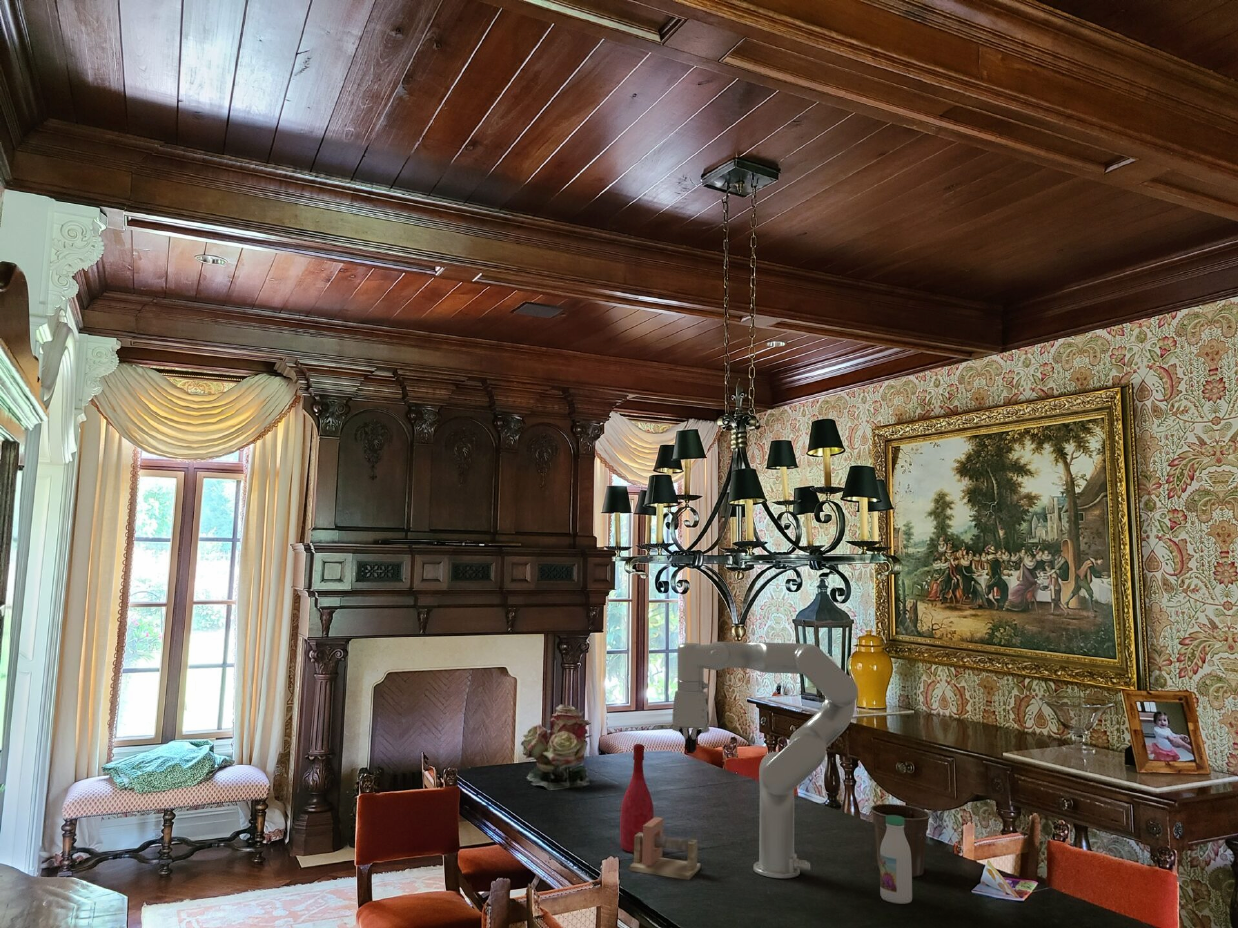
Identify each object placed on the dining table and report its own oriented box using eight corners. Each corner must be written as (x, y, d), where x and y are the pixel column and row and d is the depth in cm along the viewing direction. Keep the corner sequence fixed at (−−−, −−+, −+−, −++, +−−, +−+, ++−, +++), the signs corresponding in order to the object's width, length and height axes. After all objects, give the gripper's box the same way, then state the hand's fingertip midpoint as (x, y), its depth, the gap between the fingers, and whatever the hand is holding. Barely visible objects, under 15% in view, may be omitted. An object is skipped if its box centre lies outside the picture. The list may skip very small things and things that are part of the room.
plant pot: (942, 872, 241) (941, 812, 243) (914, 884, 230) (913, 821, 232) (889, 857, 253) (888, 800, 255) (860, 868, 242) (859, 808, 244)
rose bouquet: (513, 778, 343) (517, 701, 348) (581, 773, 355) (584, 699, 359) (533, 792, 320) (536, 709, 324) (605, 787, 331) (607, 707, 336)
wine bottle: (624, 854, 248) (627, 747, 252) (615, 844, 257) (618, 741, 262) (657, 852, 250) (659, 746, 255) (647, 843, 260) (649, 740, 264)
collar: (662, 855, 242) (663, 817, 243) (650, 865, 233) (651, 826, 234) (653, 853, 243) (654, 816, 244) (642, 863, 234) (643, 825, 235)
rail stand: (700, 867, 238) (700, 835, 239) (689, 879, 228) (689, 845, 229) (642, 859, 244) (643, 827, 245) (629, 870, 234) (630, 837, 235)
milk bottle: (905, 893, 222) (904, 813, 225) (916, 904, 214) (915, 820, 217) (876, 893, 222) (875, 812, 225) (886, 904, 214) (885, 820, 217)
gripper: (718, 686, 248) (719, 752, 246) (668, 684, 253) (668, 748, 250) (713, 689, 241) (713, 756, 239) (662, 686, 246) (662, 753, 243)
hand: (690, 752), depth 244 cm, fingers closed
